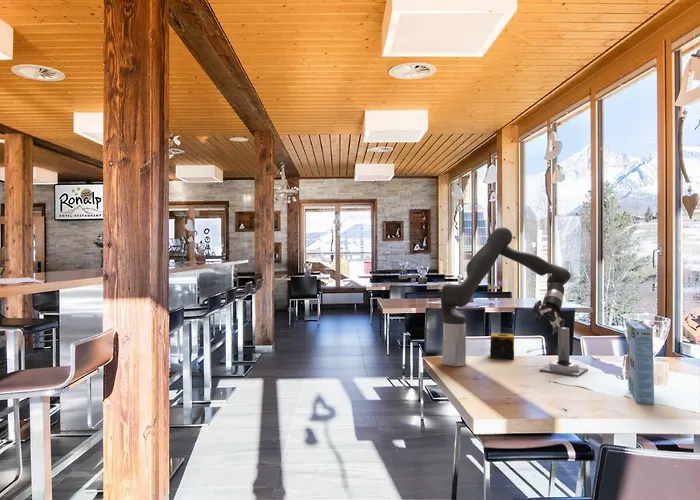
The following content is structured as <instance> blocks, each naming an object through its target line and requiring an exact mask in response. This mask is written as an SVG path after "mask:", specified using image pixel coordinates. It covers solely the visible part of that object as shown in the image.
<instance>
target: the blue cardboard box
mask: <svg viewBox="0 0 700 500" xmlns="http://www.w3.org/2000/svg"><path fill="white" fill-rule="evenodd" d="M626 333H627V335H626V336H627V337H626V338H627V340H626V341H627V382H628V385H627V388H628V387H629V388H628V390H629V392H630V393H631V395H632V397H633V399H634V401H635V403H637V404H644V405H653V406H654V405H655V390H654V389H655V384H654V383H655V382H654V381H655V379H654V378H655V377H654V345H653V344H654V341H653V339H654V336H653V333H654V332H653V328H650V327H649V326H648V325H646V324H645V323H643V321H635V320H634V321H633V320H631V321H630V320H629V321H626Z"/></svg>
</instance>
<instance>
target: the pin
mask: <svg viewBox="0 0 700 500" xmlns="http://www.w3.org/2000/svg"><path fill="white" fill-rule="evenodd" d="M557 341H558V342H557V361H558V364H562V365H569V362H570V327H566V326H564V327H559V328H558V333H557Z"/></svg>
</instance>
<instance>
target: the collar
mask: <svg viewBox="0 0 700 500" xmlns="http://www.w3.org/2000/svg"><path fill="white" fill-rule="evenodd" d="M548 363H549V364H547V365H545V366H543V367H541V368H538V369H539V371H538V372H542V373H549V374H555V375H561V376H567V377H573V376H577V377H576V378H579V377H580V376H582V375H583V374H585V373H586V371H587V372H588V371H589V368H587V367H580V366H579V364H578V363H576V362H574V361H569V365H562V364H558V360H549V362H548ZM584 372H585V373H584ZM581 374H582V375H581ZM578 376H579V377H578Z"/></svg>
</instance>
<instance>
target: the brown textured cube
mask: <svg viewBox="0 0 700 500" xmlns="http://www.w3.org/2000/svg"><path fill="white" fill-rule="evenodd" d="M489 349H490V350H489V353H490V354H489V358H490V359H495V360H511V361H514V360H515V335H514V333H513V334H512V333H500V332H499V333H498V332H497V333H496V332H494V333H493V332H491V333H490V348H489Z"/></svg>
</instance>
